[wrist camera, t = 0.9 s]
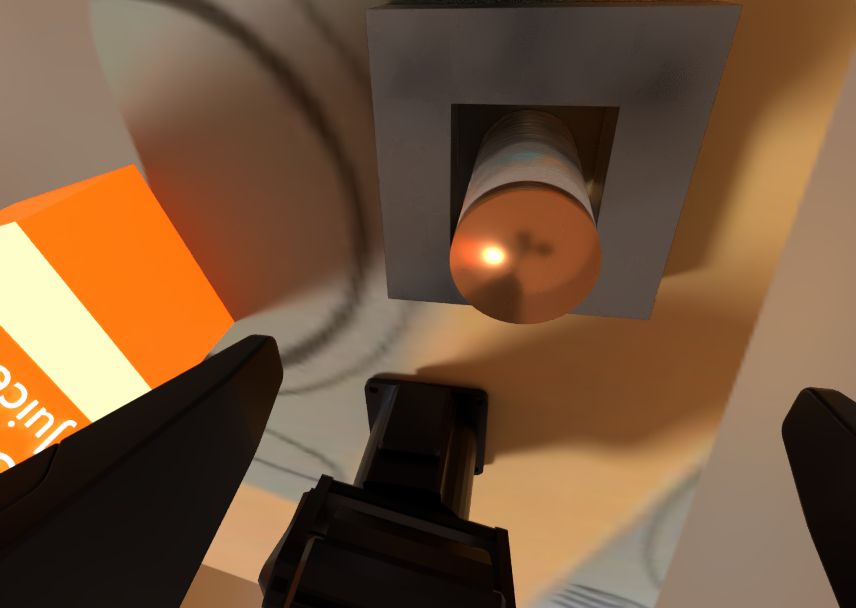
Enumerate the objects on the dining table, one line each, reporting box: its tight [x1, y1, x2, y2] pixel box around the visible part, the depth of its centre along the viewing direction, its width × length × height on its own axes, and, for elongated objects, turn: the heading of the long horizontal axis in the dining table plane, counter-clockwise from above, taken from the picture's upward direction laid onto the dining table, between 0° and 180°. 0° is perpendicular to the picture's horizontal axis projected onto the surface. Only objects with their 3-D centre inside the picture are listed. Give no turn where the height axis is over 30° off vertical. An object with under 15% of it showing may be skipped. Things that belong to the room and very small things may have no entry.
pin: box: [450, 110, 602, 324], centre depth 15 cm, size 4×4×8 cm
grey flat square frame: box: [365, 0, 742, 320], centre depth 17 cm, size 10×10×2 cm
